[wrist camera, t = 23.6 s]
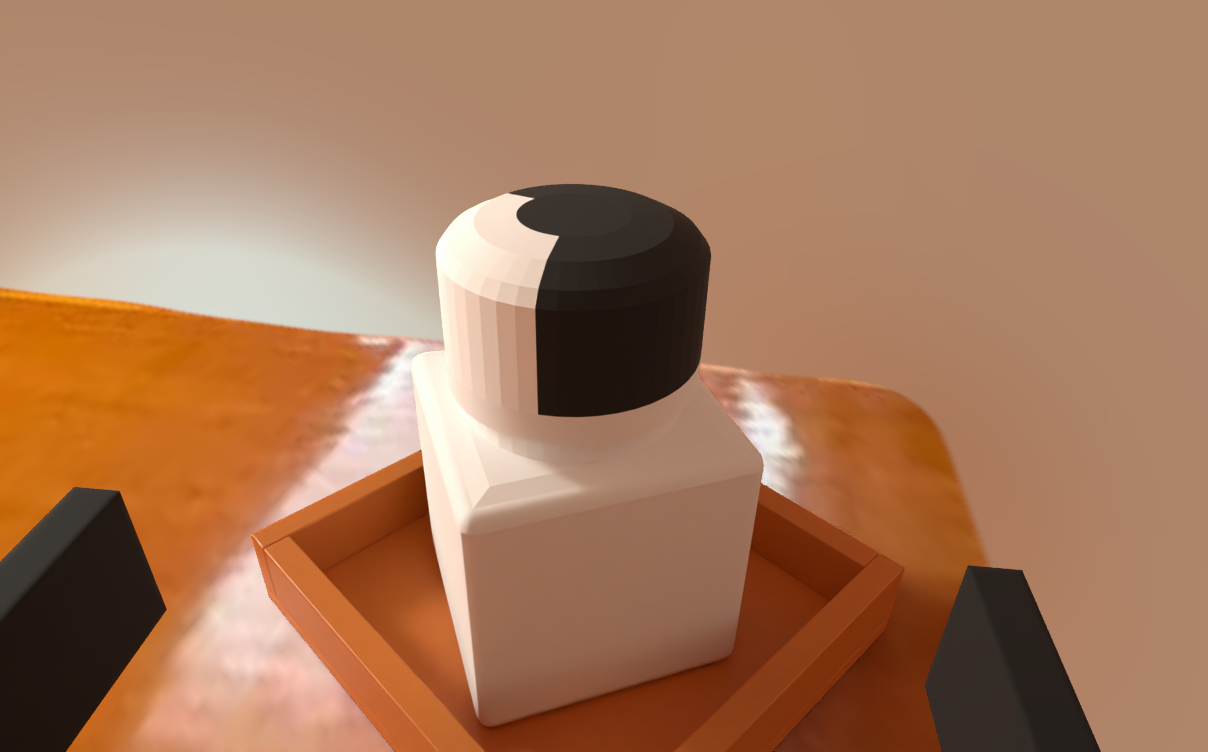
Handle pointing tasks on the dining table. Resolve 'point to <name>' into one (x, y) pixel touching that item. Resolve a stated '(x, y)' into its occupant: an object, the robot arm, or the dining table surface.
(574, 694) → the medicine bottle
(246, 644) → the dining table surface
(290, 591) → the amber tray
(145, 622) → the robot arm
